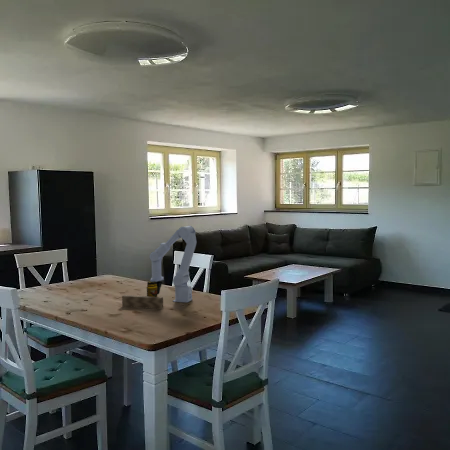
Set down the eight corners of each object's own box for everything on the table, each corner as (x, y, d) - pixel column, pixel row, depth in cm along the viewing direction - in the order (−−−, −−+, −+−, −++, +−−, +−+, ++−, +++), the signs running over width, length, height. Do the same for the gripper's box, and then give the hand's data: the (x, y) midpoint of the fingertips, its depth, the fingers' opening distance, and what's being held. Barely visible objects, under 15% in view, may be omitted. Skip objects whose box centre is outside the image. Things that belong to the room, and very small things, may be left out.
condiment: (156, 303, 253) (156, 283, 252) (142, 303, 254) (141, 283, 253) (159, 300, 260) (159, 280, 259) (145, 300, 261) (144, 280, 260)
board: (163, 308, 243) (163, 297, 242) (161, 309, 240) (161, 298, 240) (124, 305, 250) (124, 294, 249) (122, 306, 248) (122, 295, 247)
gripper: (156, 269, 272) (156, 291, 273) (144, 273, 258) (145, 296, 259) (166, 269, 270) (167, 291, 271) (155, 273, 256) (156, 297, 257)
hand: (157, 294), depth 265 cm, fingers closed
